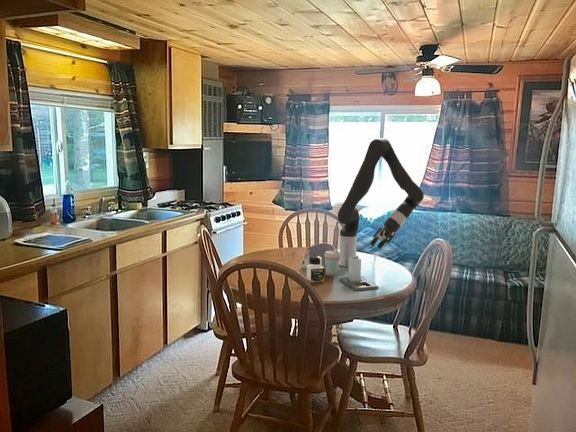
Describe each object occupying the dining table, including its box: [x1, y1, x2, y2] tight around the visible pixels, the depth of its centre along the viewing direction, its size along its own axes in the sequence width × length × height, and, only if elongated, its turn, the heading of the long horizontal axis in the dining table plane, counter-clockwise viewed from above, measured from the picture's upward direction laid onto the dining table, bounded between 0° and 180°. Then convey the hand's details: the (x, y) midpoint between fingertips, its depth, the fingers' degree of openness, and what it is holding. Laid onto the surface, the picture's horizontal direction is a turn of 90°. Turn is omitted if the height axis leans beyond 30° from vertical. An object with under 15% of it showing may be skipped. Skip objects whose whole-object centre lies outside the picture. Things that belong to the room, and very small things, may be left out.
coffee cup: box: [323, 250, 340, 277], centre depth 251 cm, size 9×8×12 cm
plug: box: [347, 254, 362, 282], centre depth 237 cm, size 4×4×13 cm
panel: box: [339, 275, 379, 292], centre depth 234 cm, size 18×12×2 cm, turn 18°
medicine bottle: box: [306, 255, 325, 283], centre depth 241 cm, size 7×7×12 cm
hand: (374, 246), depth 239 cm, fingers open, 8 cm apart
